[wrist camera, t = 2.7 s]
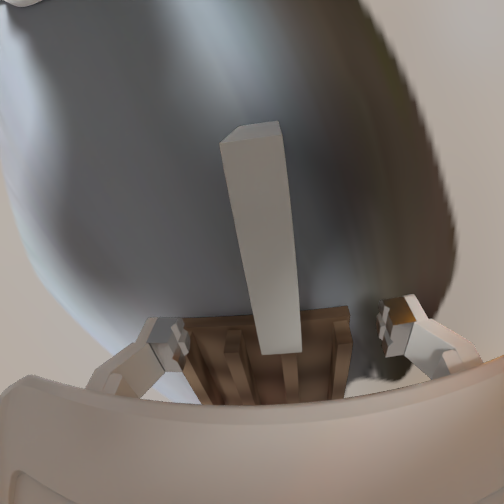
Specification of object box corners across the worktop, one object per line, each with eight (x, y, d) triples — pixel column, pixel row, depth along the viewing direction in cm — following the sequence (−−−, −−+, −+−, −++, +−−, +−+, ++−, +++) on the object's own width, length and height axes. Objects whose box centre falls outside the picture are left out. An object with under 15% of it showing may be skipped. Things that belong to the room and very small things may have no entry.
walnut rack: (178, 318, 25) (167, 348, 21) (347, 305, 23) (356, 337, 20) (215, 396, 32) (211, 422, 28) (337, 390, 30) (340, 416, 27)
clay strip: (239, 125, 16) (218, 143, 10) (278, 120, 16) (282, 134, 10) (265, 284, 22) (261, 355, 16) (296, 281, 22) (302, 352, 16)
